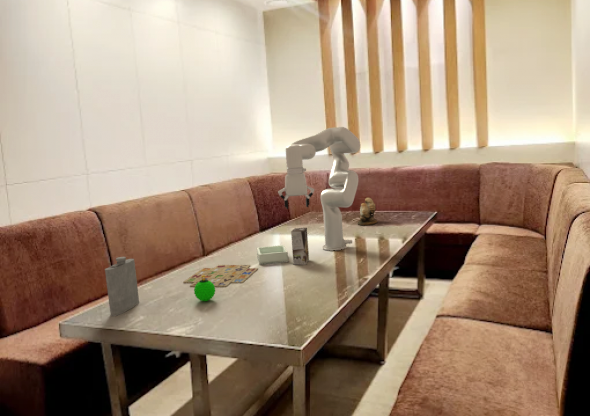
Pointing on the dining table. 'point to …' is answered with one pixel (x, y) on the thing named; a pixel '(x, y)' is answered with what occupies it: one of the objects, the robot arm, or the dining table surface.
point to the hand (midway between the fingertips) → (297, 207)
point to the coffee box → (300, 245)
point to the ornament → (204, 289)
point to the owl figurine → (367, 213)
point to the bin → (272, 254)
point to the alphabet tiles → (222, 275)
